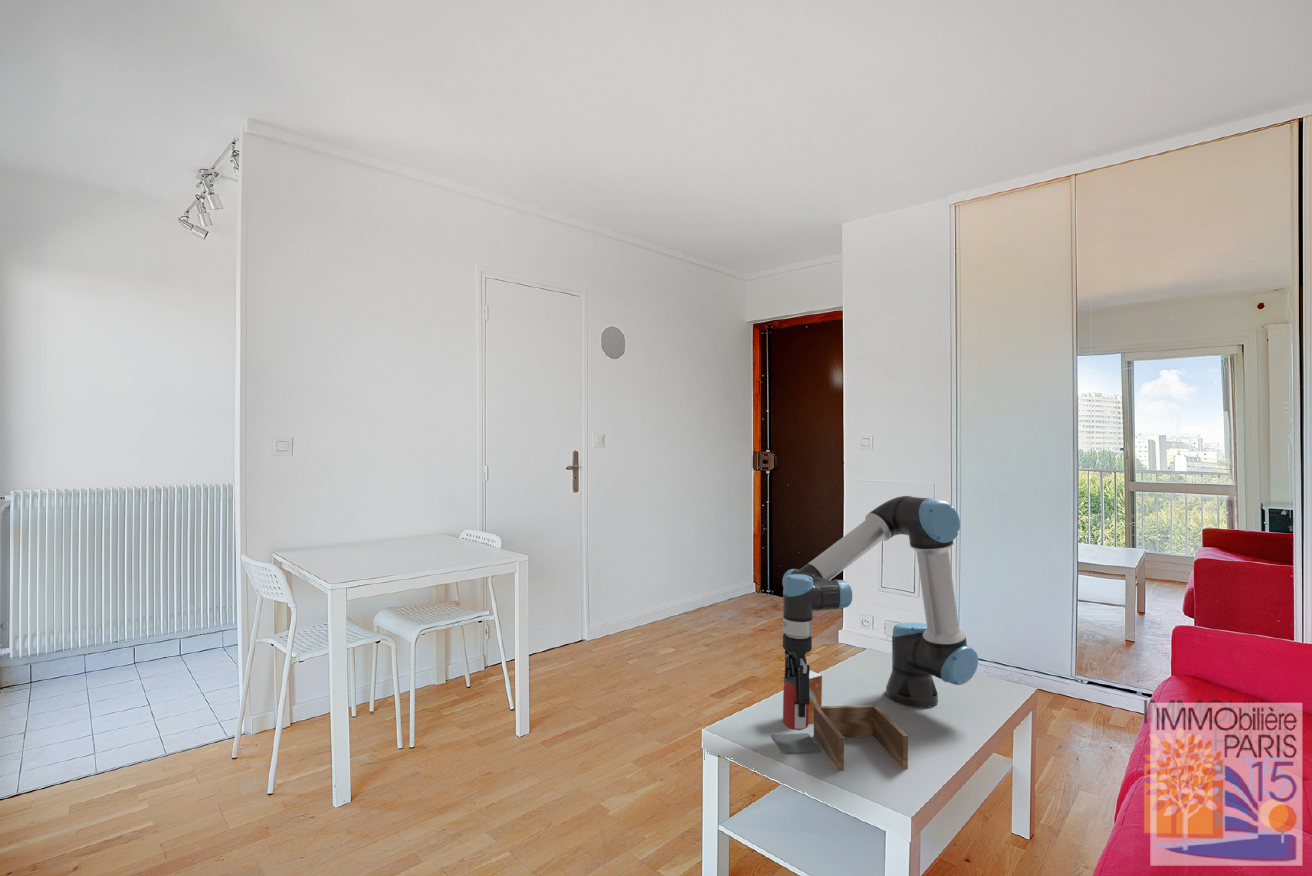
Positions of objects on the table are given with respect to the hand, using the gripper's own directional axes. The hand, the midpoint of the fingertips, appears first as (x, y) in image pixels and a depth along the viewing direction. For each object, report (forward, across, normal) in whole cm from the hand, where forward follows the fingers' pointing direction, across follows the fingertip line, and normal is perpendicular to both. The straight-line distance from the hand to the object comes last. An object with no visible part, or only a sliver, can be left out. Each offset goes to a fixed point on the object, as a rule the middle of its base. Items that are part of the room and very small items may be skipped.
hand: (795, 721), depth 167 cm
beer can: (+1, 0, 0) cm, 1 cm away
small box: (+6, -14, +7) cm, 17 cm away
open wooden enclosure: (+6, +6, +15) cm, 17 cm away
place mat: (+6, 0, 0) cm, 6 cm away
